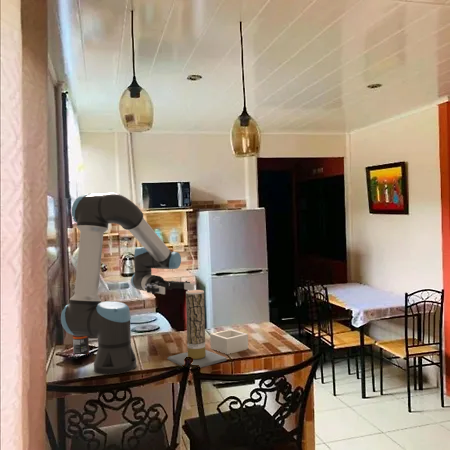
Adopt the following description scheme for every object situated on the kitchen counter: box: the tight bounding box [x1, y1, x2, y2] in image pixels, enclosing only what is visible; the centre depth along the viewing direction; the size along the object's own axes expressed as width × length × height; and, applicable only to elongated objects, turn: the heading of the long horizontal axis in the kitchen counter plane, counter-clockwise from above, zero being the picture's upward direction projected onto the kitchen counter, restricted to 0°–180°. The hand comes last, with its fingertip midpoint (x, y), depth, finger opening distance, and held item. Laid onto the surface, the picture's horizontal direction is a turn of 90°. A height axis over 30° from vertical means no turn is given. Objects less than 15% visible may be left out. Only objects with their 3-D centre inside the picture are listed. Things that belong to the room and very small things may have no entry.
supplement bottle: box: [72, 335, 90, 356], centre depth 187 cm, size 6×6×11 cm
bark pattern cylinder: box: [185, 289, 206, 359], centre depth 177 cm, size 7×7×25 cm
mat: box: [167, 349, 228, 368], centre depth 177 cm, size 16×16×1 cm
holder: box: [209, 328, 249, 355], centre depth 191 cm, size 11×11×6 cm
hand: (179, 289), depth 187 cm, fingers open, 13 cm apart
